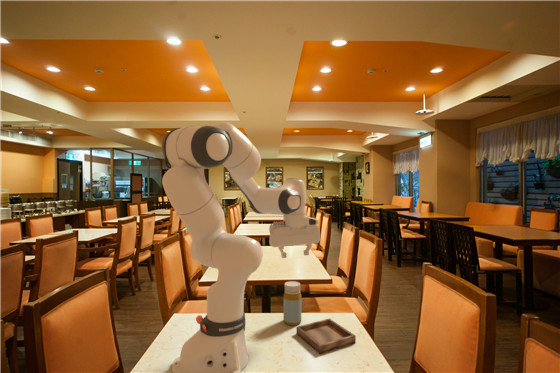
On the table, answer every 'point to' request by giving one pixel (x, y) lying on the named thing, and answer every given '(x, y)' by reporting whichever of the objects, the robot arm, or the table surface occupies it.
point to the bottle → (292, 303)
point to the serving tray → (325, 335)
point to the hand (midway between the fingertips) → (295, 256)
